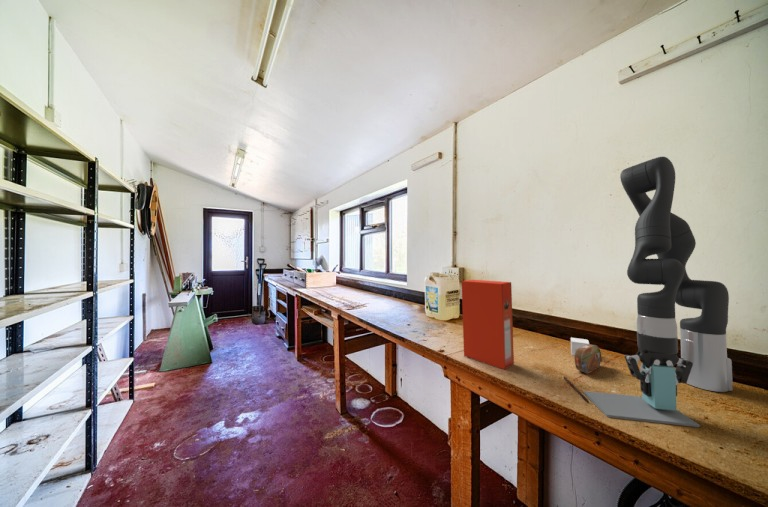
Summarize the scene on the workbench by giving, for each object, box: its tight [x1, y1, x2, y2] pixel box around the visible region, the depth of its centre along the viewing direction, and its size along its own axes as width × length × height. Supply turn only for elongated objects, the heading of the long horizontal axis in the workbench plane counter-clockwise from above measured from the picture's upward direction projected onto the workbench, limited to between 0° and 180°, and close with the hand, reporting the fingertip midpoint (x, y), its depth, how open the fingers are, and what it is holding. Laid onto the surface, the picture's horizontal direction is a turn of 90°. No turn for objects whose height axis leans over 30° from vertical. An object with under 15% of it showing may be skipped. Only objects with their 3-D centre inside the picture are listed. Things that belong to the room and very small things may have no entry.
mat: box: [582, 390, 701, 428], centre depth 70 cm, size 19×12×1 cm, turn 76°
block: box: [640, 361, 678, 411], centre depth 69 cm, size 4×4×11 cm
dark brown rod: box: [563, 376, 590, 404], centre depth 80 cm, size 15×1×1 cm, turn 167°
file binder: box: [461, 279, 515, 370], centre depth 104 cm, size 8×17×32 cm, turn 38°
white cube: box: [570, 337, 590, 357], centre depth 108 cm, size 6×6×6 cm
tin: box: [573, 343, 602, 374], centre depth 94 cm, size 15×3×8 cm, turn 120°
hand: (658, 395), depth 69 cm, fingers closed on block, 4 cm apart
